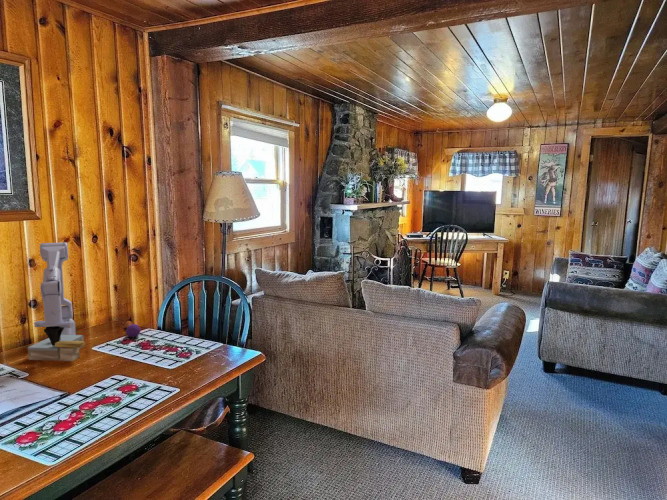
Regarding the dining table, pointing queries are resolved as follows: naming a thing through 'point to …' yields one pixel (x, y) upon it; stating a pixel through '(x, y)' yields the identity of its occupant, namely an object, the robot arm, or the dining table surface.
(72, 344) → the yellow rectangular block
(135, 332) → the kendama
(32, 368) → the dining table surface
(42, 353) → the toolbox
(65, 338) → the lid
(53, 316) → the robot arm
